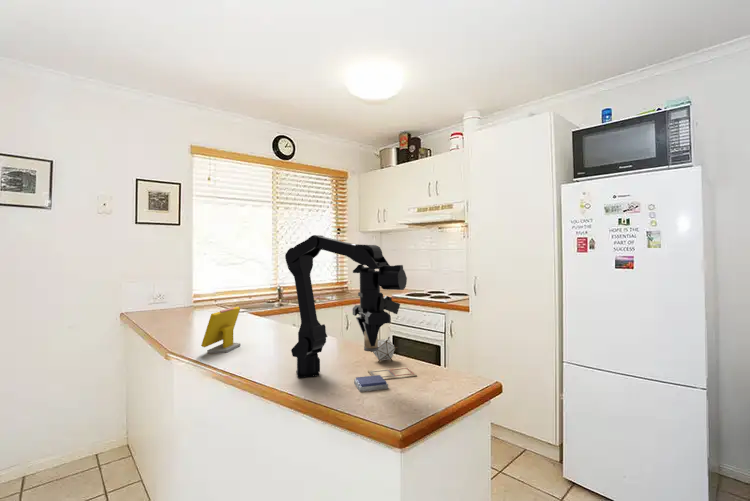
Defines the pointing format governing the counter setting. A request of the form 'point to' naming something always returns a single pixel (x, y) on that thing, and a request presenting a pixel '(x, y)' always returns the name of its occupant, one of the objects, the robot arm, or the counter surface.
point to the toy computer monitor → (221, 330)
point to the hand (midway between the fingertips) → (370, 344)
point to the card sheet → (393, 373)
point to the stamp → (367, 344)
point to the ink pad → (370, 383)
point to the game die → (384, 350)
